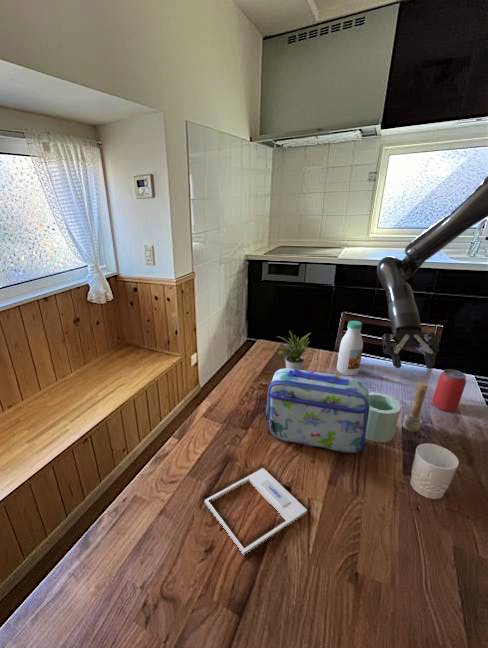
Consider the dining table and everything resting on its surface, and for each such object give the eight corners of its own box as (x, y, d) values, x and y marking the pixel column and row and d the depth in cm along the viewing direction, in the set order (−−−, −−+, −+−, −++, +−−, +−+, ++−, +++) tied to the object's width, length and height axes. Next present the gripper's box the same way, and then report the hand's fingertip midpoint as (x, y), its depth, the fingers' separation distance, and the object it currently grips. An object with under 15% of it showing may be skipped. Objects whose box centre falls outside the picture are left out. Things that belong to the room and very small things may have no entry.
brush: (421, 425, 99) (433, 382, 93) (418, 434, 96) (431, 390, 90) (404, 420, 102) (415, 377, 96) (400, 427, 99) (412, 384, 93)
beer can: (460, 414, 103) (471, 380, 98) (435, 410, 105) (445, 377, 100) (452, 401, 108) (463, 369, 103) (428, 398, 110) (438, 367, 106)
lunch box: (262, 439, 98) (264, 377, 89) (270, 417, 107) (273, 359, 98) (361, 464, 87) (375, 397, 79) (361, 437, 96) (373, 374, 87)
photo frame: (307, 509, 75) (243, 552, 67) (306, 513, 75) (243, 555, 68) (263, 467, 87) (204, 499, 79) (263, 470, 87) (204, 502, 79)
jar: (397, 428, 99) (404, 400, 95) (388, 447, 92) (396, 418, 88) (360, 415, 105) (366, 388, 101) (350, 432, 98) (355, 404, 94)
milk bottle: (338, 375, 127) (345, 326, 118) (335, 365, 133) (341, 318, 125) (360, 376, 125) (369, 327, 116) (356, 366, 132) (364, 319, 123)
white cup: (402, 488, 80) (411, 456, 76) (412, 469, 85) (421, 438, 81) (442, 508, 75) (454, 475, 71) (450, 486, 80) (462, 454, 75)
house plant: (289, 359, 140) (292, 323, 133) (320, 371, 130) (325, 332, 123) (268, 371, 132) (270, 333, 125) (299, 385, 122) (302, 345, 115)
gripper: (384, 311, 100) (394, 364, 94) (436, 310, 98) (449, 364, 93) (374, 321, 107) (382, 370, 101) (422, 320, 105) (433, 371, 100)
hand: (414, 367), depth 97 cm, fingers open, 8 cm apart
